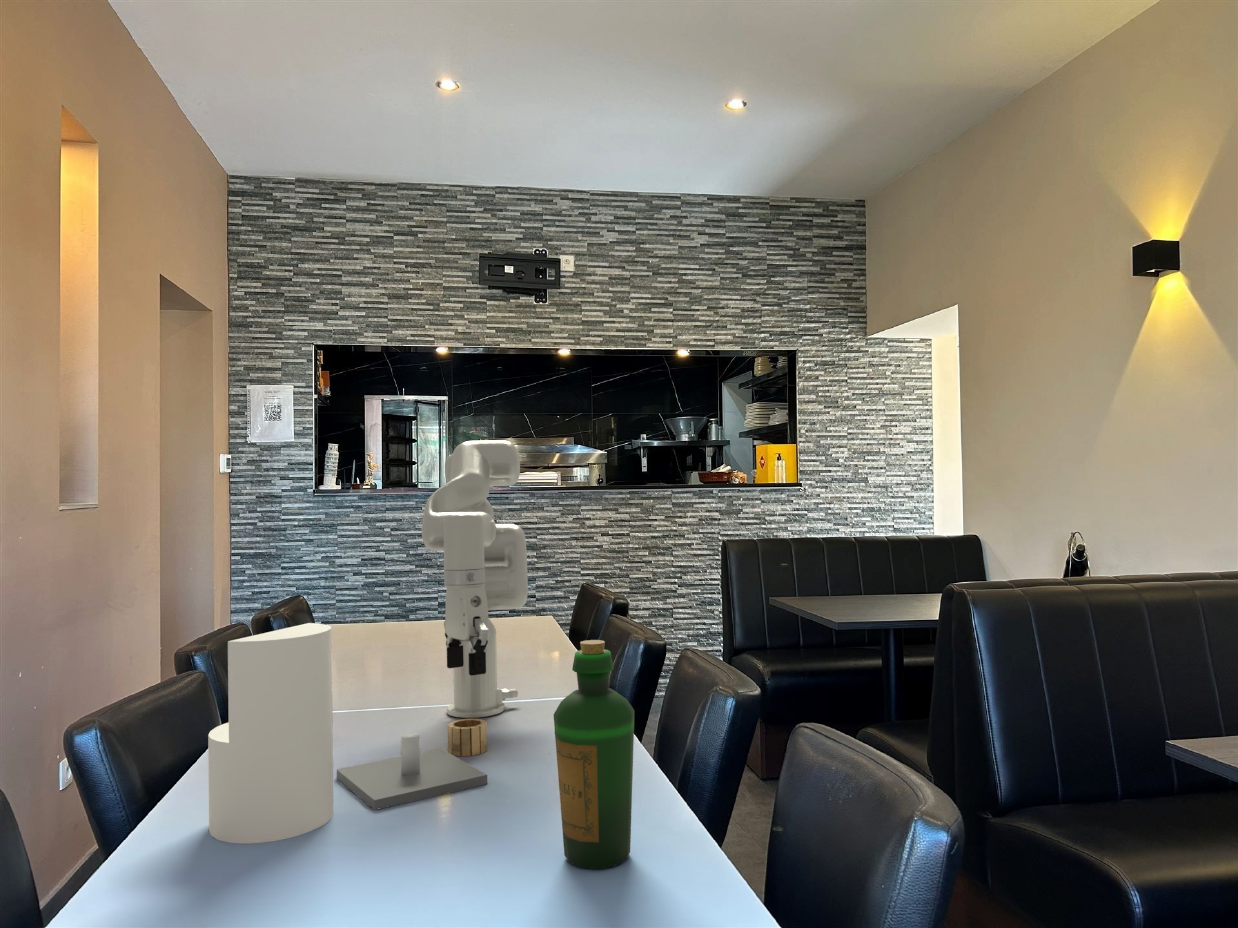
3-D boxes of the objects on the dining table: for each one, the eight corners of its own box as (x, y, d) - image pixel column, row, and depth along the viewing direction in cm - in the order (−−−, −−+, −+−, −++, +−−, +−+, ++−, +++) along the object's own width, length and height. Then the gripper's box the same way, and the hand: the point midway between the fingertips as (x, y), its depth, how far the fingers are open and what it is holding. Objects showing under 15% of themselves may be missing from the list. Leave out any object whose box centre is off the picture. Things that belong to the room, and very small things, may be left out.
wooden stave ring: (476, 742, 169) (476, 716, 169) (493, 751, 163) (492, 724, 163) (442, 749, 165) (442, 722, 165) (458, 758, 159) (457, 730, 159)
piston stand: (441, 756, 160) (440, 715, 161) (487, 783, 145) (486, 737, 145) (336, 778, 149) (336, 733, 150) (374, 809, 134) (373, 760, 134)
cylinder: (357, 805, 136) (354, 624, 137) (280, 849, 120) (277, 643, 121) (266, 795, 142) (264, 621, 143) (181, 835, 125) (179, 639, 126)
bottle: (556, 843, 119) (551, 636, 120) (633, 838, 120) (628, 634, 121) (557, 877, 109) (552, 650, 110) (642, 872, 110) (636, 647, 111)
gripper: (503, 579, 160) (505, 674, 159) (463, 575, 174) (465, 662, 173) (465, 582, 155) (467, 680, 155) (427, 577, 170) (429, 667, 169)
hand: (466, 670), depth 164 cm, fingers open, 9 cm apart
